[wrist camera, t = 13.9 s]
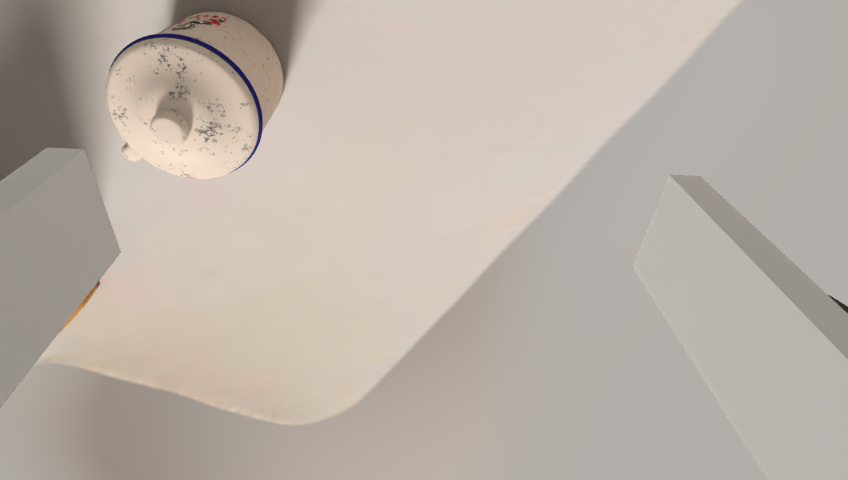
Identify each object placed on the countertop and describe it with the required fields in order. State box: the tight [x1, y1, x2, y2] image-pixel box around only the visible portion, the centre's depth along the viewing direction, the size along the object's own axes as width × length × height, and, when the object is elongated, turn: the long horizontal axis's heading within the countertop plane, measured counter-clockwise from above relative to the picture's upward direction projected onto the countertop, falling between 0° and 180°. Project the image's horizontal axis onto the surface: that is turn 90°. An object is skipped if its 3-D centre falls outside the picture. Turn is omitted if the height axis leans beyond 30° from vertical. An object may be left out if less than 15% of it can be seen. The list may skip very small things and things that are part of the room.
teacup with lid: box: [106, 11, 283, 179], centre depth 33 cm, size 12×9×12 cm
